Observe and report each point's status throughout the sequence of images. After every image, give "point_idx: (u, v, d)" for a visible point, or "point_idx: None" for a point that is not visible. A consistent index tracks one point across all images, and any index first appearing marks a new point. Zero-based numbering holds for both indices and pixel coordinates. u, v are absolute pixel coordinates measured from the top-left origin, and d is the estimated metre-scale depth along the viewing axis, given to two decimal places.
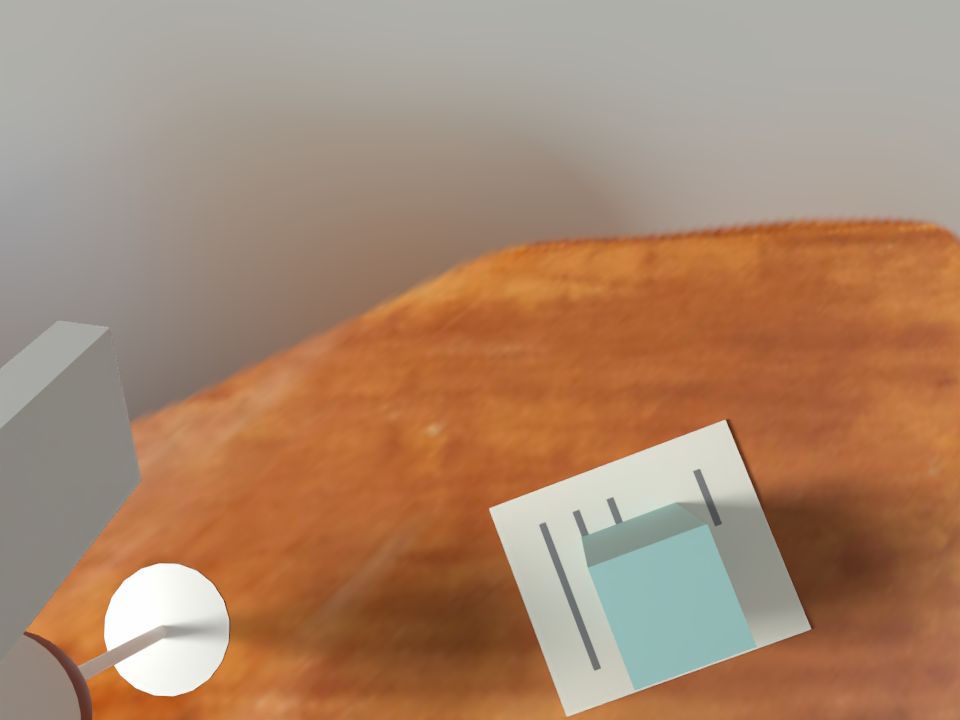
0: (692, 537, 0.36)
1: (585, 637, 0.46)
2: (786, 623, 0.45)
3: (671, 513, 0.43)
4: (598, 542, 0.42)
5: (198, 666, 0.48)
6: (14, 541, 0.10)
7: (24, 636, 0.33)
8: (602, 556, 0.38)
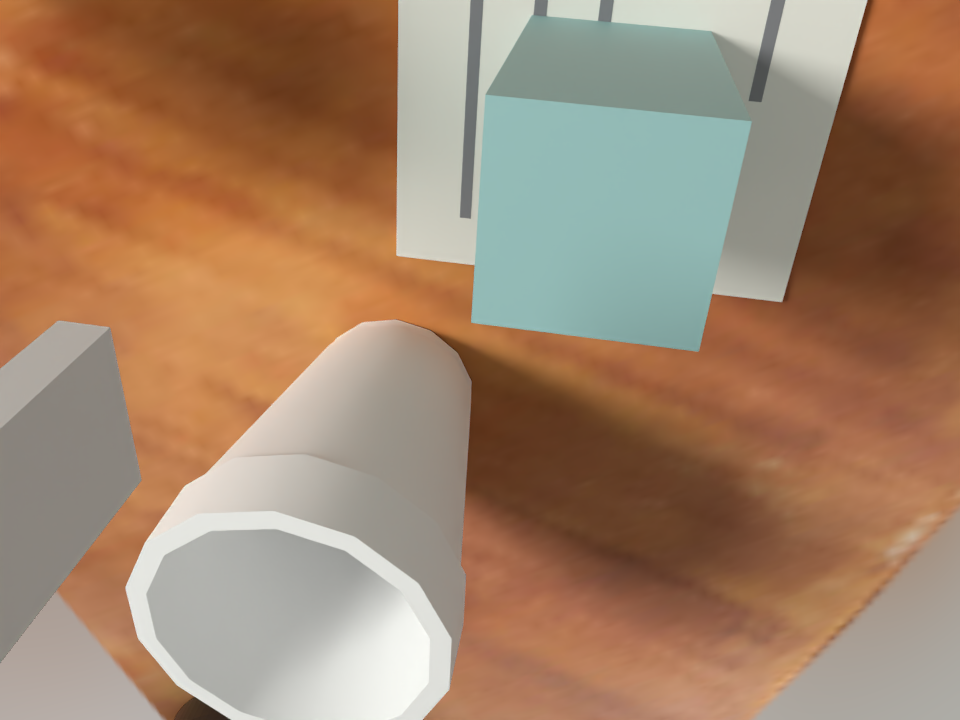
0: (709, 133, 0.17)
1: (467, 168, 0.29)
2: (755, 280, 0.29)
3: (695, 52, 0.23)
4: (546, 43, 0.23)
5: None
6: (14, 541, 0.10)
7: None
8: (528, 81, 0.19)
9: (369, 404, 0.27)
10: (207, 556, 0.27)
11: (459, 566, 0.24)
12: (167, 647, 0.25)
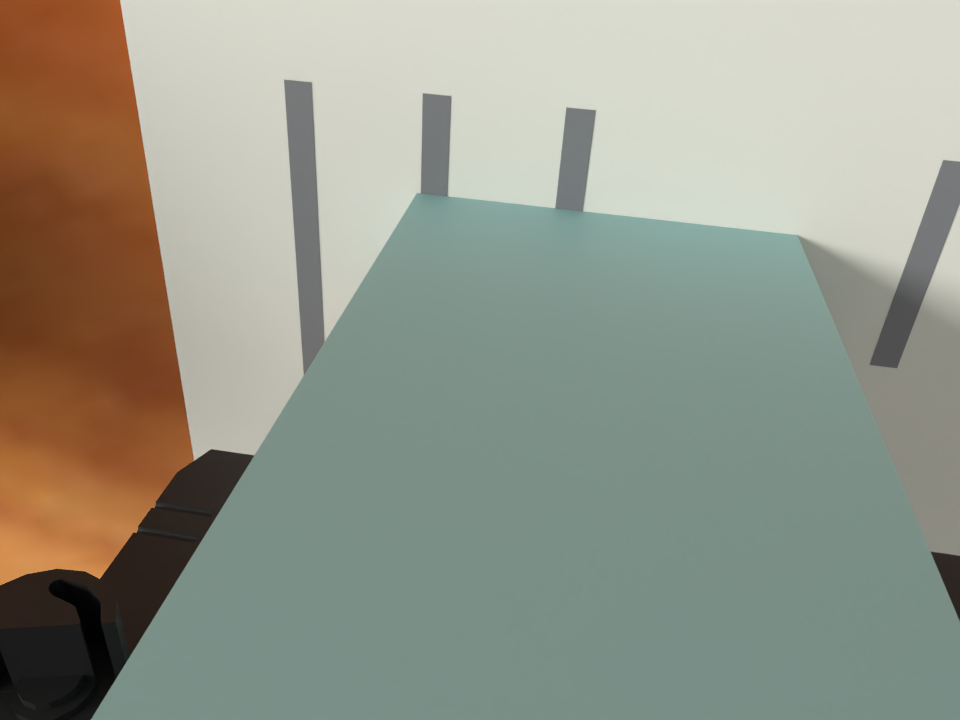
0: None
1: None
2: None
3: (784, 352, 0.09)
4: (408, 335, 0.09)
5: None
6: None
7: None
8: (239, 689, 0.05)
9: None
10: None
11: None
12: None
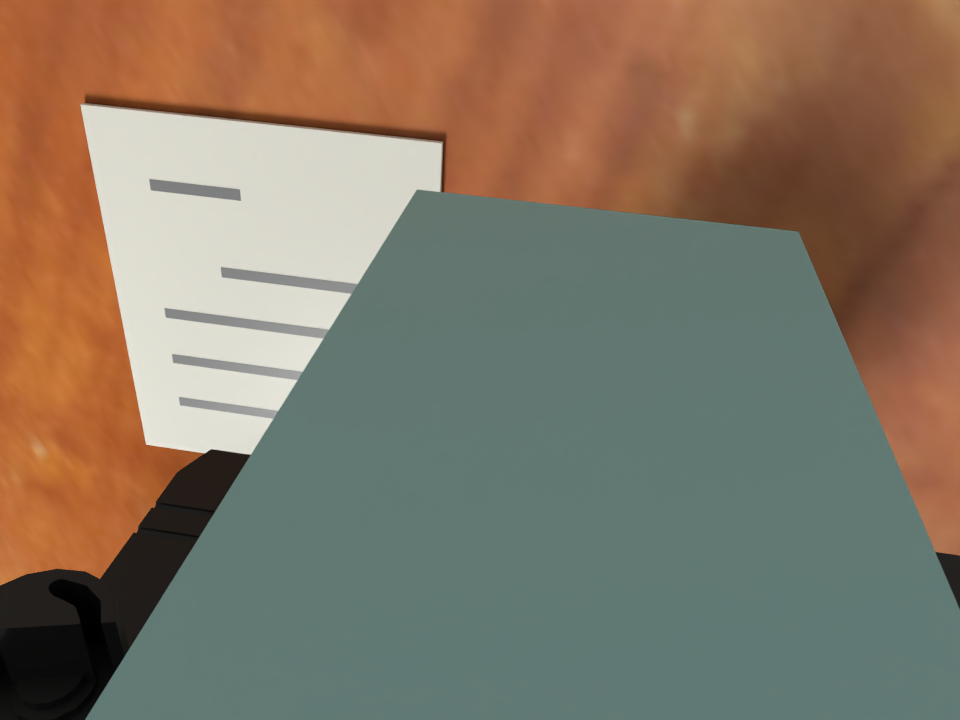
0: None
1: None
2: (418, 174, 0.27)
3: (785, 348, 0.09)
4: (408, 331, 0.09)
5: None
6: None
7: None
8: (238, 684, 0.05)
9: None
10: None
11: None
12: None
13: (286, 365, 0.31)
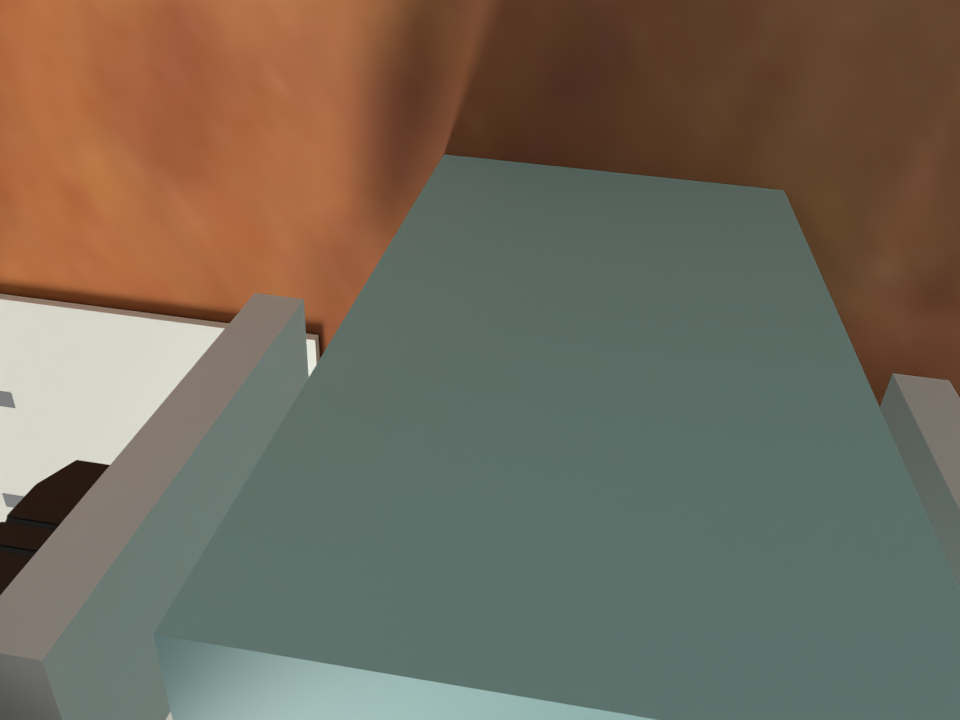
0: None
1: None
2: None
3: (769, 279, 0.10)
4: (445, 263, 0.10)
5: None
6: None
7: None
8: (336, 500, 0.07)
9: None
10: None
11: None
12: None
13: None
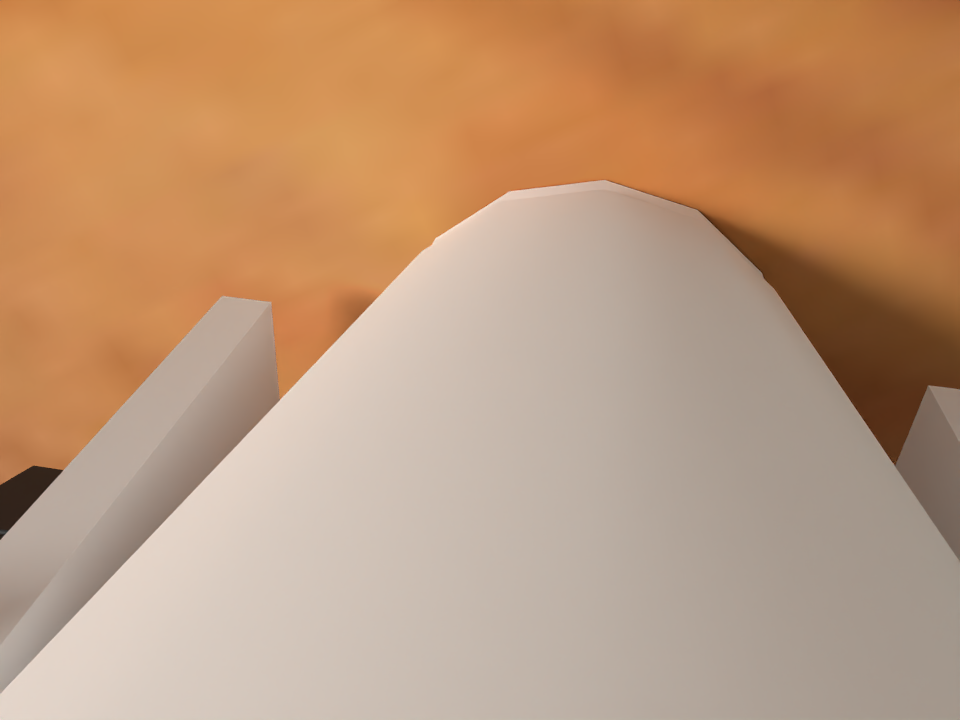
0: None
1: None
2: None
3: None
4: None
5: None
6: None
7: None
8: None
9: (699, 418, 0.06)
10: None
11: None
12: None
13: None
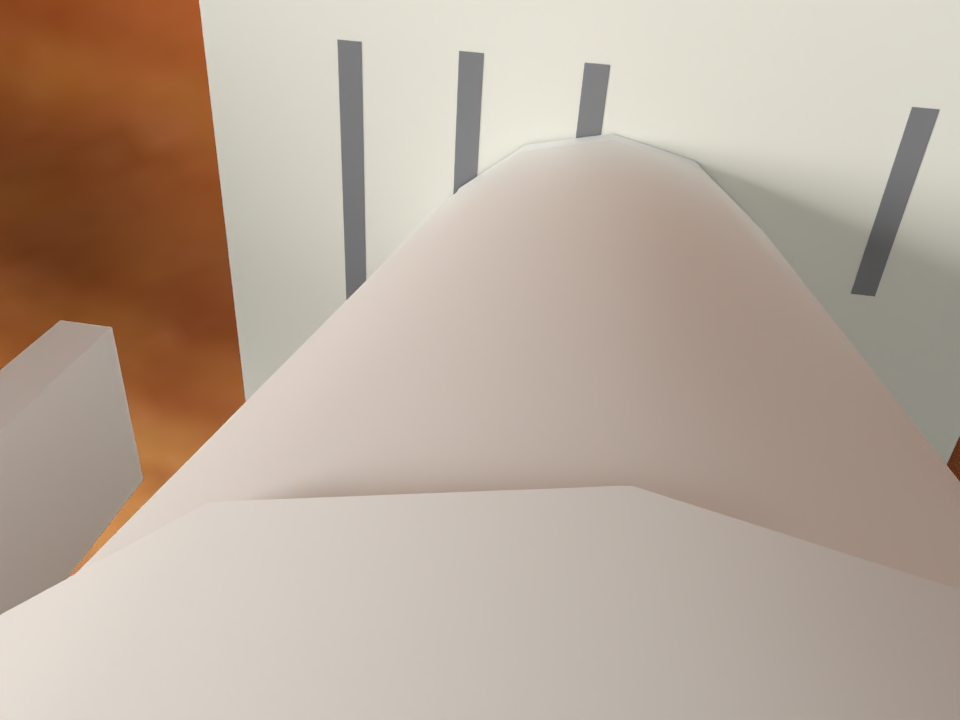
0: None
1: None
2: None
3: None
4: None
5: None
6: (16, 540, 0.10)
7: None
8: None
9: (700, 289, 0.07)
10: None
11: None
12: None
13: None
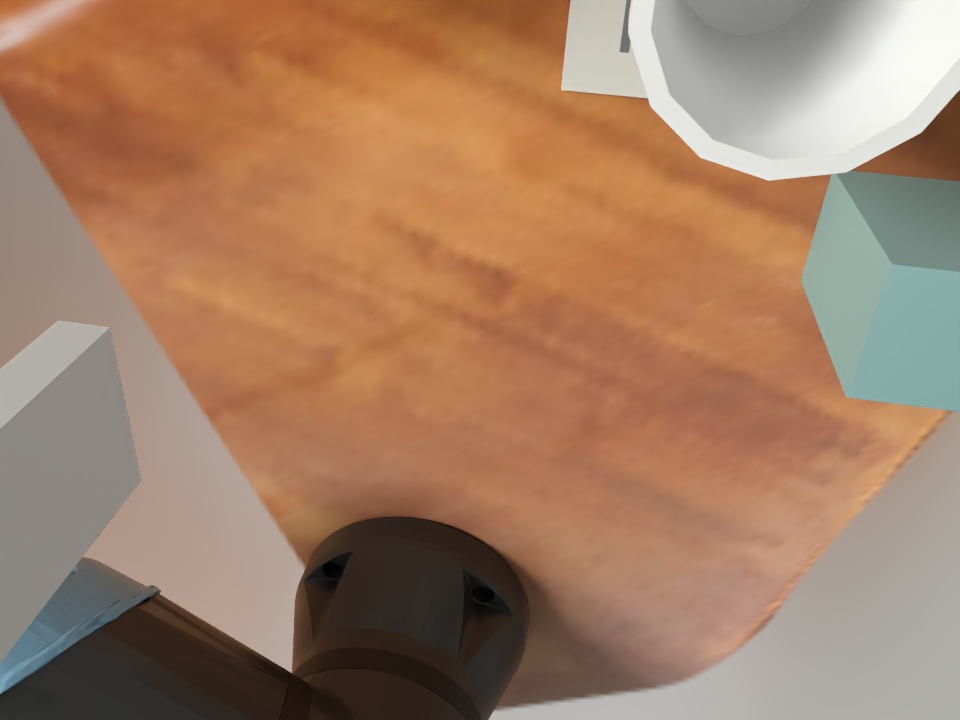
0: None
1: None
2: None
3: None
4: None
5: None
6: (14, 541, 0.10)
7: None
8: None
9: None
10: None
11: None
12: (656, 47, 0.23)
13: None
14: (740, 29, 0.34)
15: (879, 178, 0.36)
